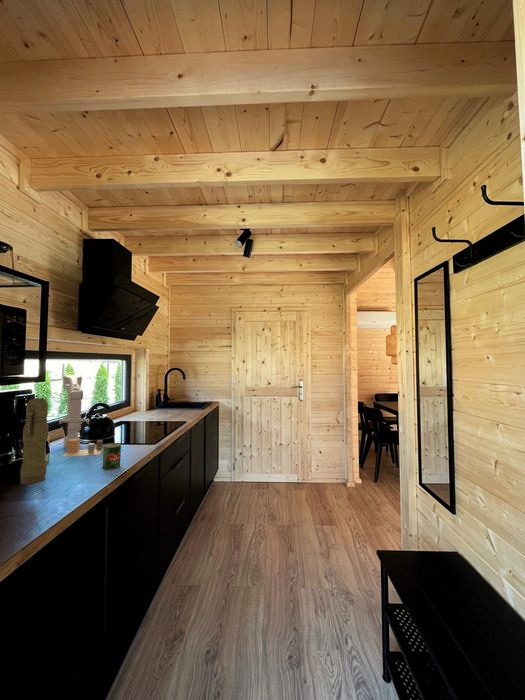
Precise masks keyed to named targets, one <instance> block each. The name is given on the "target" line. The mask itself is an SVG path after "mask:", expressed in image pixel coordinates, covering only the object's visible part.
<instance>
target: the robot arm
mask: <svg viewBox="0 0 525 700" xmlns="http://www.w3.org/2000/svg"><path fill="white" fill-rule="evenodd" d="M62 377H63V378H62V383H63V384H62V385H63V386H62V387H63V389H64V390H66V393H67V411H66V412H67V415H66V416H64V417H63V418H62V419H59V421H58V423H59V424H60V426H61V432H63V444H62V446H61V448H67V441H68V440H69V439H79V436H80V437H83V434H84V432H85V428H86V427H87V425H88V423H90V418H81V417H82V401H83V398H84V391H83V389H81V387H82V382H83V376H82V375H81V374H64V375H63V376H62ZM79 431H80V434H79Z"/></svg>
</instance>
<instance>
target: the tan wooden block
mask: <svg viewBox="0 0 525 700" xmlns="http://www.w3.org/2000/svg"><path fill="white" fill-rule="evenodd" d="M80 447H81V438H79V437H78V439H69V440H68V441H67V447H66V452H67V453H77V452H78V451H79V450H81V449H80Z"/></svg>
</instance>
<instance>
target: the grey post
mask: <svg viewBox="0 0 525 700" xmlns="http://www.w3.org/2000/svg"><path fill="white" fill-rule="evenodd" d="M87 445H88V447H87V448H88V454H91V453H94V449H95V442H93V443H92V442H91V443H88V444H87Z"/></svg>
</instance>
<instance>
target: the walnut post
mask: <svg viewBox="0 0 525 700" xmlns="http://www.w3.org/2000/svg"><path fill="white" fill-rule="evenodd" d="M103 441H104V440H101V439H98V440H97V441H96V448H95V449H96V450H102V449H103ZM102 451H103V450H102Z"/></svg>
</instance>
